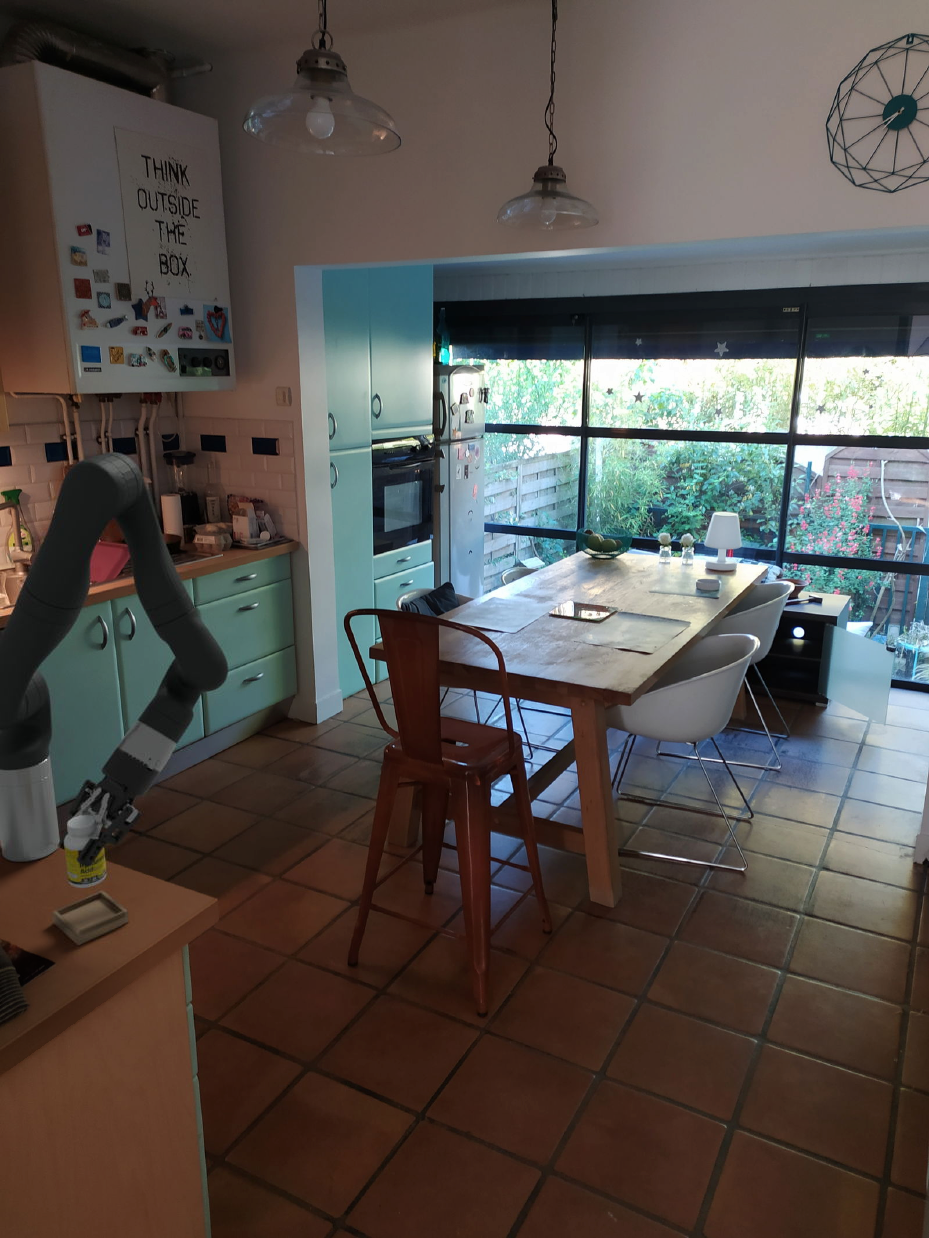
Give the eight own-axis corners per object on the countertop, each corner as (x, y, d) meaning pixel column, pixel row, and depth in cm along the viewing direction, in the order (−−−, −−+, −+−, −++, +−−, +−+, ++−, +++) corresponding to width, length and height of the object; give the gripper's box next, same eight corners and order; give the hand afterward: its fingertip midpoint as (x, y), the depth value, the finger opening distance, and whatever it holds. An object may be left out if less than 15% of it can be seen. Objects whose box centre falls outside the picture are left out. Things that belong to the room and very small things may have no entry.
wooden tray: (53, 922, 140) (52, 911, 139) (103, 901, 146) (102, 890, 145) (78, 945, 135) (76, 933, 134) (128, 921, 141) (127, 910, 140)
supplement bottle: (81, 893, 135) (73, 834, 132) (61, 880, 138) (53, 822, 135) (114, 877, 139) (107, 819, 136) (94, 865, 142) (87, 808, 139)
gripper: (99, 733, 143) (31, 830, 138) (146, 761, 133) (75, 866, 128) (134, 754, 148) (70, 848, 143) (181, 782, 139) (115, 883, 134)
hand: (73, 856), depth 136 cm, fingers closed on supplement bottle, 5 cm apart
